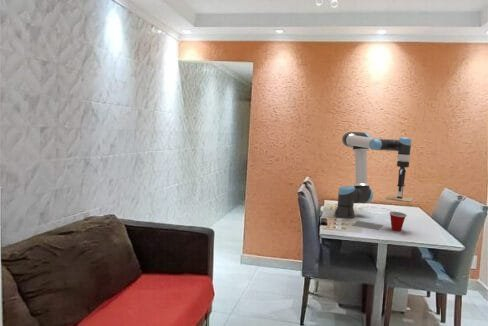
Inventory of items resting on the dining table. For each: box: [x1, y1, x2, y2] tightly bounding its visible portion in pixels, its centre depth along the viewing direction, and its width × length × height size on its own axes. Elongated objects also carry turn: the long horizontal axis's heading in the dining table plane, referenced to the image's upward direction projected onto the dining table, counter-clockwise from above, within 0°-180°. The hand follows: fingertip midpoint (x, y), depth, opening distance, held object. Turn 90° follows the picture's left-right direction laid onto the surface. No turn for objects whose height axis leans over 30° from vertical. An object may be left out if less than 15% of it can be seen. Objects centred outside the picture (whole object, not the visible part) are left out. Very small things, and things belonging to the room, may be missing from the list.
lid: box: [385, 184, 414, 203], centre depth 280 cm, size 15×15×10 cm
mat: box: [351, 220, 384, 231], centre depth 292 cm, size 18×18×1 cm
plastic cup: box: [389, 211, 407, 232], centre depth 282 cm, size 11×11×12 cm
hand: (399, 195), depth 281 cm, fingers closed on lid, 3 cm apart
